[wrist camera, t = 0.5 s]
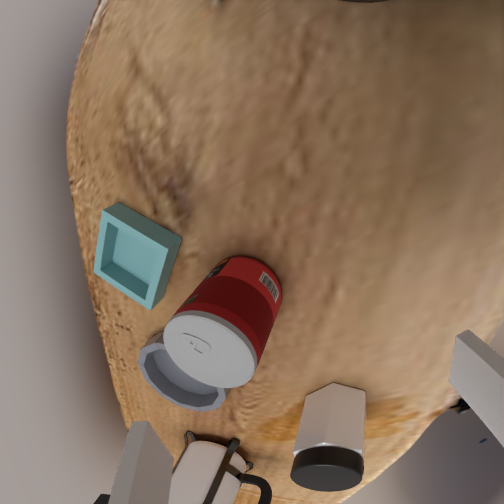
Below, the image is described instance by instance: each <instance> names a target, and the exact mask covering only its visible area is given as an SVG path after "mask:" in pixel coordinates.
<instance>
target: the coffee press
mask: <svg viewBox="0 0 504 504" xmlns="http://www.w3.org/2000/svg"><path fill="white" fill-rule="evenodd" d="M187 434H189V435H190V436H191V438H192V440H193V442H192V443H190V444H189V445H188V438H187ZM184 439H185V447H184V449H183V451H182V453H181V455H180V457H179V459H178V461H177V462H176V464H175V466H174V468H173V470H172V478H171V486H170V493H169V502H168V504H233V502H234V500H235V497H236V495H237V492H238V490H239V488H240V487H241V485H242V483H248V484H253V485H257V486H258V487H259V488H260V489H261V496H260V500H259V502H258V504H270V503H271V499H272V490H271V487H270V485H269V484H268V482H267V481H266V480H265V479H263V478H261V477H258V476H255V475H250V474H245V473H246V472H247V471H249V470H251V469H252V468H253V464H252V463H250V462H249V463H245V461H244V460H243V458H242V457H241V456H240V455H239V454H237V453H236V452H235V450H236V449H237V447H238V446H239V444H240V441H238V440H236V439H234V438H232V439H231V441H230V442H229V443H228V444H227V445H226V446H222V445H220V444H217V443H213V442H208V441H197V440H196V439H195V436H194V434H193V433H192V432H191V431H188V432H187V433H185V434H184ZM246 465H249V470H247V471H246Z"/></svg>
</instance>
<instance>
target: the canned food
mask: <svg viewBox="0 0 504 504" xmlns="http://www.w3.org/2000/svg"><path fill="white" fill-rule="evenodd" d="M281 300H282V294H281V288H280V284H279V281H278V279H277V277H276V276H275V274H274V273H273V272H272V271H271V270H270V268H268V267H267V266H266V265H265V264H263V263H261V262H260V261H258V260H255V259H252V258H249V257H232V258H229V259H226V260H224V261H222V262H220V263H219V264H217V265H216V266H215V267H214V268H213V270H212V271H211V272H210V273H209V274H208V275H207V277H206V278H205V279H204V280H203V281H202V282H201V283H200V285H199V286H198V287H197V288H196V289H195V290H194V292H193V293H192V294H191V295H190V296H189V297H188V298H187V300H186V301H185V302H184V303H183V304H182V305H181V307H180V308H179V309H178V310H177V311H176V313H175V314H174V315H173V316H172V318H171V319H170V320H169V322H168V324H167V325H166V327H165V329H164V333H163V340H164V345H165V348H166V350H167V352H168V354H169V356H170V357H171V359H172V360H173V361H174V362H175V364H176V365H177V366H178V367H179V368H180V369H181V370H183V371H184V372H185V373H186V374H188V375H189V376H191V377H192V378H194V379H196V380H198V381H200V382H202V383H204V384H207V385H210V386H214V387H220V388H233V387H238V386H241V385H243V384H245V383H246V382H248V381H249V380H250V378H251V377H252V376H253V374H254V372H255V370H256V368H257V365H258V363H259V361H260V359H261V356H262V353H263V351H264V348H265V345H266V343H267V340H268V337H269V335H270V332H271V329H272V327H273V324H274V321H275V319H276V316H277V313H278V310H279V308H280V304H281Z"/></svg>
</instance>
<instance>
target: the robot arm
mask: <svg viewBox="0 0 504 504" xmlns="http://www.w3.org/2000/svg"><path fill="white" fill-rule="evenodd" d="M344 1H352V2H378V1H385V0H344ZM449 383H450V384H451V385H452V386H453V387H454V389H455V390H456V391H457V392H458V393H459V394H460V395H461V397H462V398H463V399H464V400H465V401H466V402H467V403H468V405H469V406H470V407H471V408H472V409H473V410H474V411H475V413H476V414H477V415H478V416H479V417H480V419H481V420H482V421H483V422H484V423H485V425H486V426H487V427H488V428H489V430H490V431H491V432H492V433H493V434H494V436H495V437H496V438H497V439H498V441H499V442H500V443H501V444H502V446H503V447H504V359H503V358H502V357H501V356H500V355H499V354H498V353H496V352H495V351H494V350H493V349H492V348H490V347H489V346H488V345H487V344H486V343H484V342H483V341H482V340H481V339H480V338H478V337H477V336H476V335H475V334H473V333H472V332H471V331H470V330H466V331H464V332H462V333H460V334H458V335H456V338H455V346H454V353H453V360H452V366H451V372H450V377H449ZM173 463H174V458H173V456H172V455H171V454H170V452H169V451H168V450H167V448H166V447H165V445H164V444H163V443H162V441H161V440H160V438H159V437H158V435H157V434H156V432H155V431H154V429H153V428H152V426H151V425H150V423H149V422H148V421H138V422H132V423H131V426H130V429H129V432H128V436H127V439H126V442H125V446H124V449H123V452H122V456H121V459H120V462H119V466H118V469H117V473H116V477H115V481H114V484H113V487H112V491H111V495H107V494H101V495H100V496H99V497H98V499H97V500H96V501H95V502H94V504H168V502H169V493H170V486H171V478H172V470H173Z"/></svg>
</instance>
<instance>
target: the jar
mask: <svg viewBox="0 0 504 504" xmlns="http://www.w3.org/2000/svg"><path fill="white" fill-rule="evenodd" d="M366 421H367V407H366V395H365V391H363V390H359V389H355V388H351V387H347V386H344V385H340V384H336V383H331V384H329V385H327V386H325V387H323V388H321V389H319V390H317V391H315V392H313V393H311V394H309V395H307V396H306V399H305V404H304V408H303V413H302V417H301V421H300V426H299V430H298V434H297V438H296V442H295V446H294V450H293V454H294V456H295V458H294V462H293V466H292V470H291V474H290V477H291V479H292V480H293V481H294V482H295V483H296V484H298V485H300V486H302V487H304V488H307V489H311V490H316V491H328V492H331V491H342V490H346V489H350V488H352V487H355V486H356V485H358V484H359V483H360V482H361V480H362V475H363V472H364V454H365V440H366Z"/></svg>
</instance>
